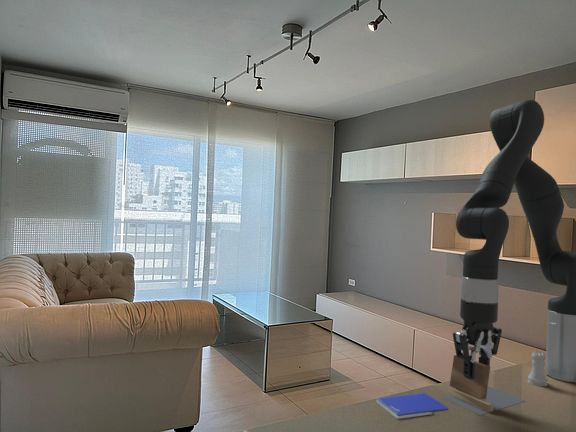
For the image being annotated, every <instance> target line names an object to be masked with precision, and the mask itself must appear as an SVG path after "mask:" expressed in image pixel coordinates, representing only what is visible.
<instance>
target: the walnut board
mask: <svg viewBox="0 0 576 432" xmlns="http://www.w3.org/2000/svg"><path fill="white" fill-rule="evenodd" d="M474 362H475V378H474V379H472V380H471V379H468V378H466V377H464V373H463V369H464V360H463V359H461V358H458V357H457V356H456V354H455V355H453V360H452V368H451V374H450V381H449V387H451V388H454V389H458V390H460V391H462V392H465V393H467V394H469V395H472V396H474V397H476V398H478V399H486V395H487V388H488V387H489V379H490V374H491V373H490V372H491V365H490V366H488V365H485V364H482V363H479V361H477V360H475V361H474Z"/></svg>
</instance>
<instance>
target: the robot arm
mask: <svg viewBox="0 0 576 432" xmlns="http://www.w3.org/2000/svg"><path fill="white" fill-rule="evenodd" d="M544 113H545V112H544V111H543V108H542V106H541V105H540V103H539V102H538V101H536V100H534V99H526V100H520V101H517V102H515V103H511V104H509V105H505V106H502V107H499V108H496V109H494V110H493V111H492V112H491V113H490V116H489V127H490V132H491V134H492V135H491V136H492V137H493V140H494V141H495V144H496V146H497V147H498V150H499V152H498V153H497V154H496V155H495V156H494V157H493V158H492V159H491V160H490V162H489V163H488V164H487V166H486V167H485V168H484V170H483V171H482V174H481V177H480V180H479V181H478V184H477V186H476V190H475V191H474V192H473V193H472V194H471V196H470V197H469V198H468V199H467V201H466V202H465V203H464V205H463V206H462V207H461V208H460V210H459V211H458V213H457V215H456V218H455V219H456V220H455V227H456V232H457V233H458V234H459V235H460V237H462V238H464V239H469V240H483V241H485V243H484V244H483V246H482V247H481V248H479V249H471V250H467V251H466V252H465V253H463V254H464V255H463V258H462V259H463V261H462V280H461V285H460V286H461V287H460V309H459V311H460V312H459V315H460V318H461V319H462V320H463V326H462V328H461V330H460V331H453V333H452V337H453V343H454V349H455V353H456V354H455V355H456V356H457V357H458V358H461V359H463V360H464V369H463V373H464V377H466V378H468V379H471V380H472V379H474V378H475V362H474V361H476V356H477V353H478V362H479V363H482V364H485V365H488V366H490V367H491V365H490V364H491V363H490V362H491V360H492V358H493V356H496V355H498V350H499V346H500V341H501V336H502V332H503V330H502V328H500V327H495V326H494V325H493V324H495V323H497V322H498V319H499V318H498V315H499V314H498V313H499V283H498V277H499V276H498V274H499V260H500V256H501V252H502V248H503V246H504V242H505V240H506V238H507V234H508V231H509V228H510V219H509V216H508V214H507V213H506V210H504V209H502V207H504V206H506V204H508V202H509V200H510V196H511V193H512V190H513V188H514V186H515V189H516V190H515V191H516V193H517V196H518V199H519V202H520V205H521V208H522V210H523V212H524V214H525V216H526V219H527V223H528V226H529V228H530V232H531V234H532V238H533V241H534V244H535V249H536V252H537V257H538V261H539V265H540V269H541V272H542V274H543V277H545V280H547V281H548V282H549V283H552V284H555V285H560V286H564V287H565V286H566V290H565V294H563V295H561V296H557V297H552V298H549V299H548V303H547V317H546V318H547V324H546V325H547V326H546V350H545V351H546V353H545V357H546V359H545V370H544V373H545V375H548V377H550V378H553V379H556V380H558V381H559V380H560V381H563V382H568V383H576V251H571V250H570V251H568V250H563V248H561V245H560V243H559V239H558V236H557V235H558V234H557V232H558V231H557V230H558V227H559V224H560V222H561V220H562V216H563V214H564V209H565V203H564V199H563V196H562V194H561V190H560V189H559V185H558V182H557V181H556V179H555V178H554V177H553V176H552V175H551V174H550V173H548V172H547V171H546V170H545V169H544V168H543V167H542V166H540V165H539V164H537V163H536V162H535V161H534V160H532V159H531V157H529V154H530V152H531V151H532V149H533V147H534V145H535V144H536V142H537V141H538V139H539V136H540V135H541V133H542V131H543V129H544V126H545V125H544V124H545V114H544ZM470 345H471V346H470Z"/></svg>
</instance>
